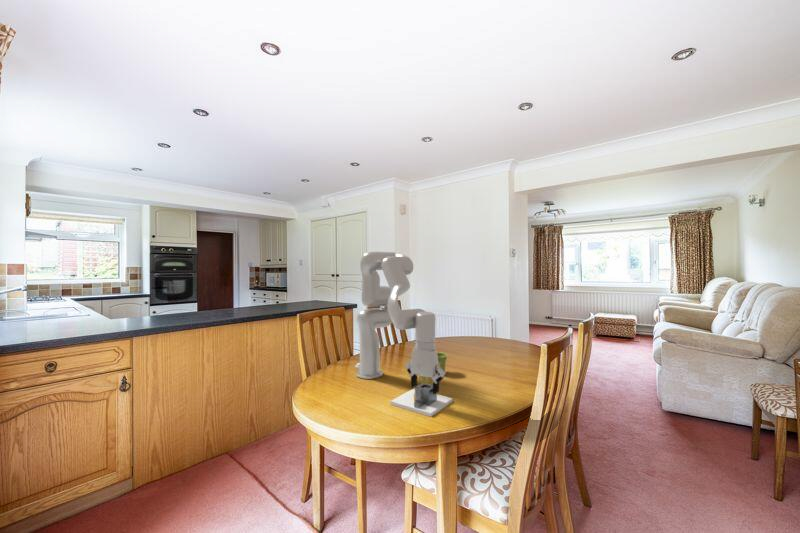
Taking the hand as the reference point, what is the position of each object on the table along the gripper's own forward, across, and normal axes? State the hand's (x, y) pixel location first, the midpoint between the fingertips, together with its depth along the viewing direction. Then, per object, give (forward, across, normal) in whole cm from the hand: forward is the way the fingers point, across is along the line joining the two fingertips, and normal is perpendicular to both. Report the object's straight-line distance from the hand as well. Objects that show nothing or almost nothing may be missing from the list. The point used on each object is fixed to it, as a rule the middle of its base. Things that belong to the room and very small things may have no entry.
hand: (424, 389), depth 127 cm
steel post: (+4, +1, 0) cm, 4 cm away
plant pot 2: (+6, -14, +35) cm, 38 cm away
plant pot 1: (+6, -9, +18) cm, 21 cm away
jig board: (+5, -1, 0) cm, 5 cm away
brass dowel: (+4, 0, -6) cm, 7 cm away
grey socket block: (+4, +1, -3) cm, 5 cm away
